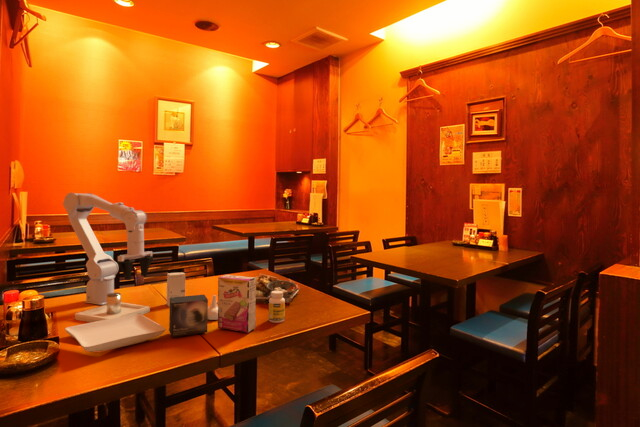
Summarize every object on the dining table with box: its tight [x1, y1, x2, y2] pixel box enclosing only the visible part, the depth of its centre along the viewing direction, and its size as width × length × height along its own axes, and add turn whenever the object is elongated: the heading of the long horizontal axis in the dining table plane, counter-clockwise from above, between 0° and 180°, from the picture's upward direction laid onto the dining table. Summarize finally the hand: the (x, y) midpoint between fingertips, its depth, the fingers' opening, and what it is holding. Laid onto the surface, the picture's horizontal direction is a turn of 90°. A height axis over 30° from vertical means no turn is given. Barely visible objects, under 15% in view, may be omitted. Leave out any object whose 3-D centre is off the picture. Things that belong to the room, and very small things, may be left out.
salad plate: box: [64, 314, 167, 353], centre depth 108 cm, size 21×21×3 cm
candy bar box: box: [217, 274, 257, 334], centre depth 117 cm, size 11×5×16 cm, turn 71°
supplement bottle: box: [268, 291, 286, 324], centre depth 126 cm, size 5×5×10 cm
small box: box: [168, 294, 209, 338], centre depth 114 cm, size 11×6×10 cm, turn 118°
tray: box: [74, 301, 151, 323], centre depth 128 cm, size 16×16×2 cm
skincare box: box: [166, 271, 186, 308], centre depth 142 cm, size 6×4×12 cm
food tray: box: [216, 273, 301, 305], centre depth 151 cm, size 35×26×11 cm
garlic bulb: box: [207, 294, 218, 321], centre depth 127 cm, size 6×6×8 cm
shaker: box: [106, 292, 122, 315], centre depth 128 cm, size 4×4×6 cm
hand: (136, 277), depth 141 cm, fingers open, 7 cm apart
